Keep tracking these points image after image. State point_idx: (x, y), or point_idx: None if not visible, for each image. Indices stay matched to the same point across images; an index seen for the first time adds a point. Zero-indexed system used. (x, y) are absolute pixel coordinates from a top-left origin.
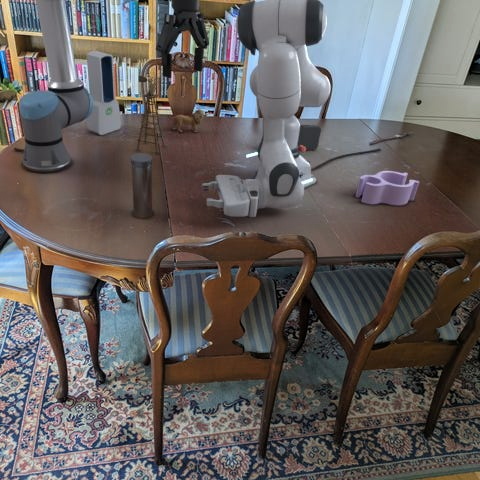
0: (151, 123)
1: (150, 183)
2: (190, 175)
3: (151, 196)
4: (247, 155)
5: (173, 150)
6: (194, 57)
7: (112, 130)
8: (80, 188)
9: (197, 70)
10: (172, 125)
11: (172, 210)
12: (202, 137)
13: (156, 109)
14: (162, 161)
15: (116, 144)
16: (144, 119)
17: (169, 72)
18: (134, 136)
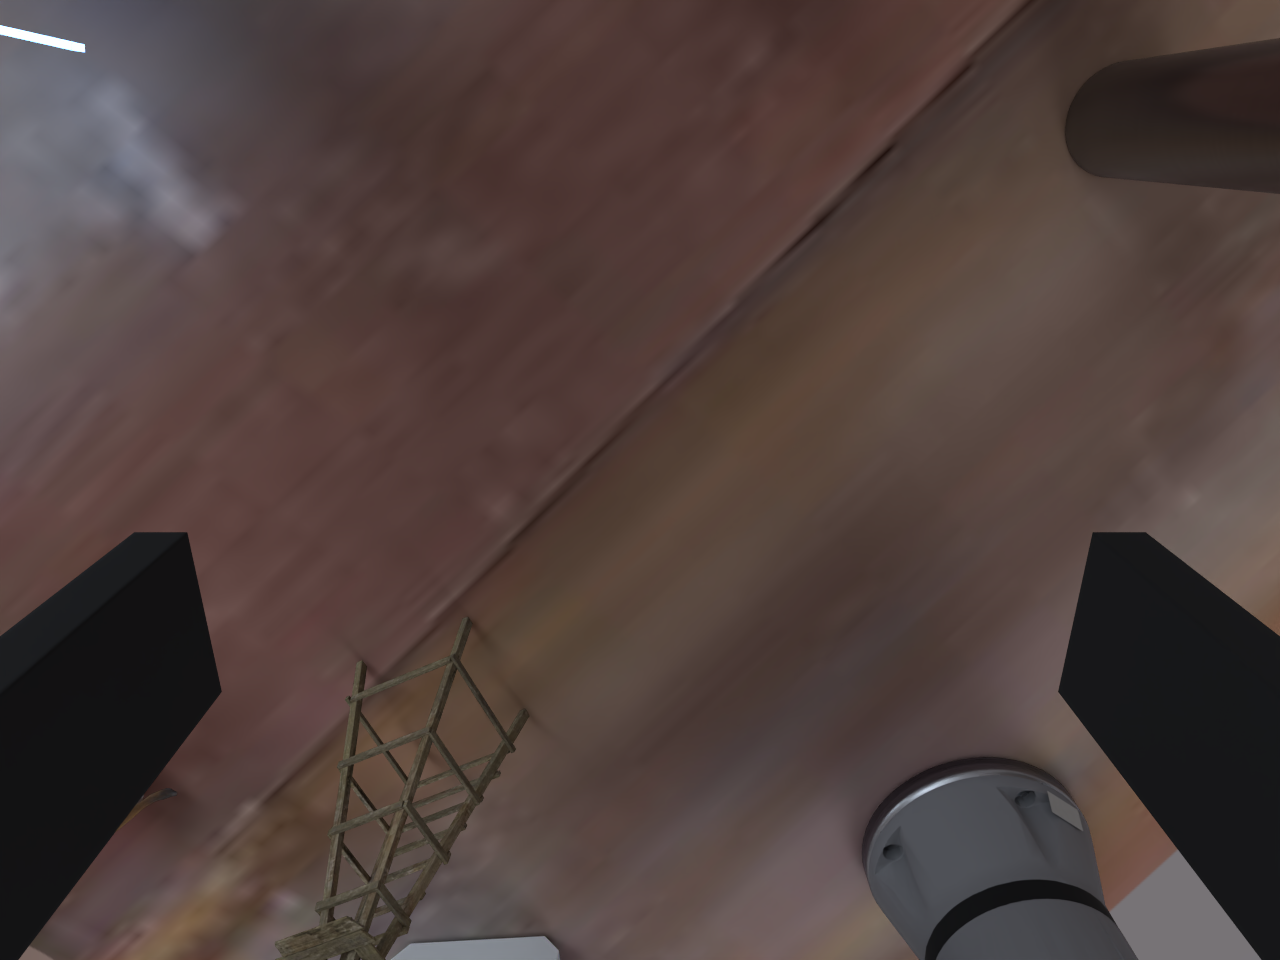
0: (375, 809)
1: (1264, 41)
2: (527, 279)
3: (1181, 56)
4: (70, 42)
5: (351, 594)
6: (73, 882)
7: (460, 945)
8: (1076, 565)
9: (200, 611)
10: (140, 808)
11: (980, 15)
12: None
13: (334, 857)
14: (517, 529)
15: (558, 823)
16: (423, 844)
17: (1212, 591)
18: (405, 843)
